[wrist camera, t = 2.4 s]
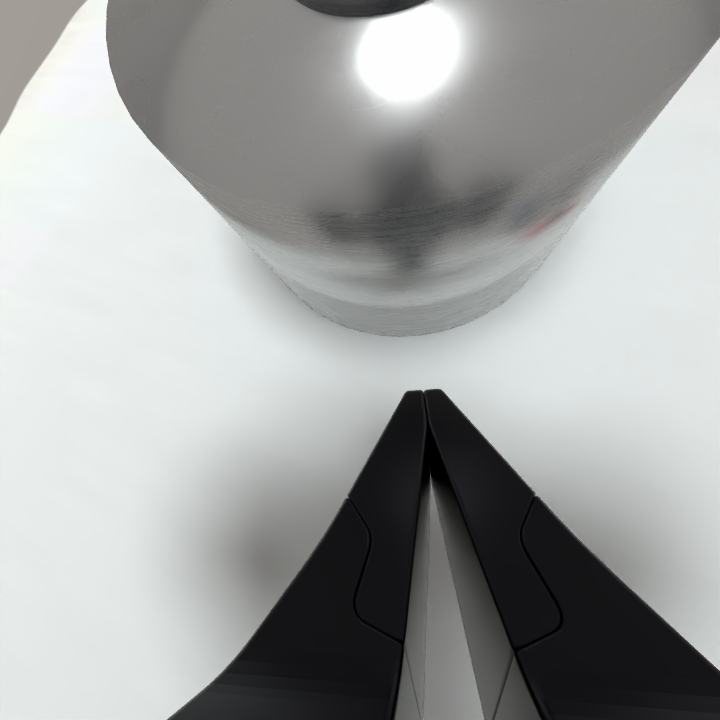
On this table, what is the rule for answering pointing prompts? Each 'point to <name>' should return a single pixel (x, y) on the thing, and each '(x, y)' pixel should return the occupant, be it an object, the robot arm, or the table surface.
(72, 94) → the table surface
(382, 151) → the cylinder
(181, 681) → the table surface
